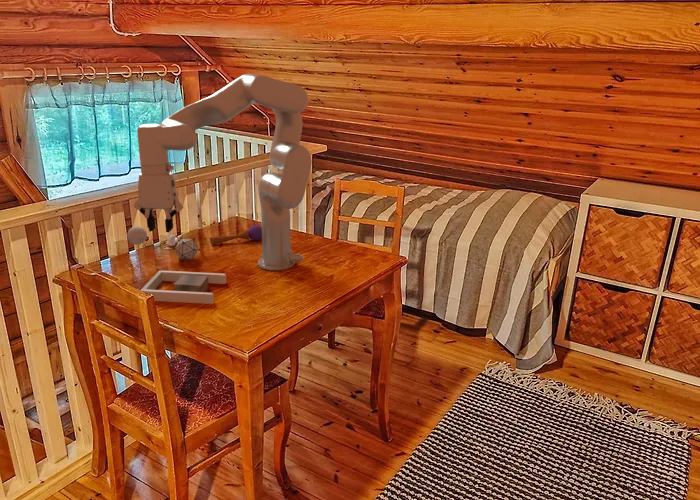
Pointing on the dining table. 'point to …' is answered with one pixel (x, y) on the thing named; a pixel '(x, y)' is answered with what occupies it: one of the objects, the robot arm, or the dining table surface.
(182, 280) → the walnut block
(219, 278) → the u-shaped grey frame
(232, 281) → the dining table surface
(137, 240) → the lollipop
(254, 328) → the dining table surface
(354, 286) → the dining table surface
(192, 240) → the game die
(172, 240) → the teacup and saucer
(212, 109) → the robot arm
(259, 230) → the kendama
